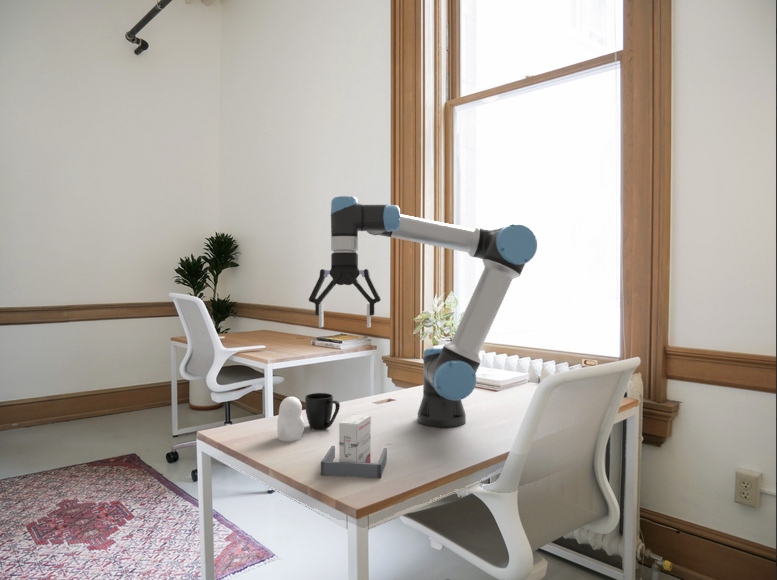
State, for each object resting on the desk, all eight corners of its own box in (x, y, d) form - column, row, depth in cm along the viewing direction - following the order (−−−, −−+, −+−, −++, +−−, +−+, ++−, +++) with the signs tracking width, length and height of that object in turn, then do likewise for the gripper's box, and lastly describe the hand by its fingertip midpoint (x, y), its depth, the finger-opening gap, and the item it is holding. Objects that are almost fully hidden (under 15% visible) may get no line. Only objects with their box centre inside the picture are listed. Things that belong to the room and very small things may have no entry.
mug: (327, 435, 157) (327, 402, 157) (299, 427, 165) (299, 396, 165) (347, 429, 164) (347, 397, 163) (319, 421, 171) (319, 391, 171)
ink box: (353, 460, 137) (353, 413, 137) (371, 462, 135) (371, 415, 135) (338, 472, 129) (338, 422, 128) (357, 474, 127) (357, 424, 127)
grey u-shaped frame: (386, 459, 137) (386, 448, 137) (380, 477, 125) (380, 464, 125) (331, 457, 139) (331, 445, 139) (320, 475, 127) (320, 462, 127)
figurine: (281, 444, 149) (281, 400, 149) (273, 436, 156) (273, 394, 156) (306, 440, 153) (306, 397, 152) (297, 433, 159) (297, 392, 159)
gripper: (389, 252, 158) (389, 325, 159) (304, 252, 160) (304, 325, 161) (387, 251, 150) (387, 328, 151) (297, 251, 152) (298, 328, 153)
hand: (344, 327), depth 156 cm, fingers open, 13 cm apart
